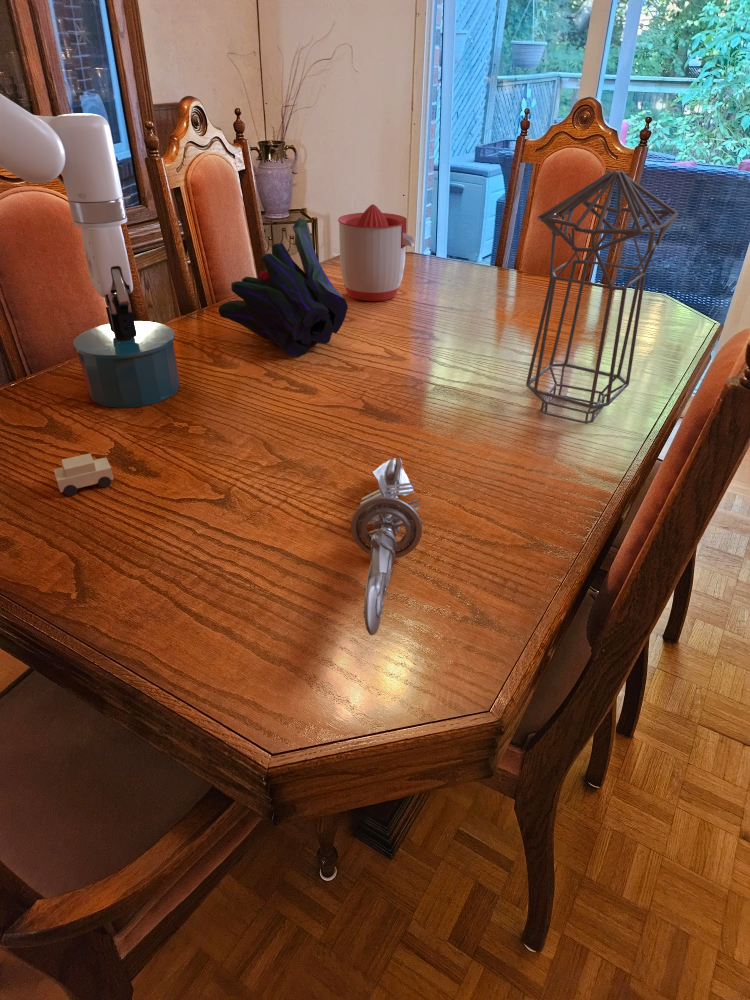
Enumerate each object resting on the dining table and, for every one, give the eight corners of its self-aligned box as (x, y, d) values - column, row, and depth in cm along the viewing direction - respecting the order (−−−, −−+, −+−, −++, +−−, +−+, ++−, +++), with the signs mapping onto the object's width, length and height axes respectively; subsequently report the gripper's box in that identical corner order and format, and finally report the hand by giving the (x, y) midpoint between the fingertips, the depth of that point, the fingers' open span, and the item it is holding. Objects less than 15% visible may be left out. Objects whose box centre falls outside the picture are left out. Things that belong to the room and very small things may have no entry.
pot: (85, 412, 105) (72, 361, 100) (93, 376, 117) (82, 329, 112) (180, 402, 108) (172, 353, 103) (179, 368, 120) (171, 322, 115)
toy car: (62, 498, 85) (54, 473, 83) (58, 485, 87) (50, 460, 85) (115, 485, 87) (109, 460, 85) (110, 473, 90) (104, 448, 88)
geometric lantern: (634, 406, 109) (693, 169, 89) (602, 444, 98) (661, 184, 78) (543, 383, 116) (579, 159, 96) (504, 416, 105) (536, 172, 86)
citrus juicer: (407, 307, 150) (411, 213, 139) (332, 302, 152) (330, 209, 141) (416, 288, 163) (420, 199, 152) (347, 283, 165) (345, 196, 154)
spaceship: (311, 607, 57) (397, 584, 55) (357, 446, 88) (414, 428, 86) (346, 674, 60) (428, 655, 58) (379, 497, 91) (433, 480, 89)
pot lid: (69, 366, 100) (58, 323, 96) (80, 331, 113) (70, 292, 109) (176, 357, 103) (168, 315, 100) (175, 324, 116) (168, 286, 112)
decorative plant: (280, 404, 129) (216, 322, 144) (389, 334, 133) (315, 261, 148) (242, 328, 112) (173, 244, 127) (368, 250, 115) (287, 177, 130)
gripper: (62, 204, 101) (90, 322, 111) (81, 225, 89) (110, 354, 100) (113, 200, 104) (135, 315, 115) (137, 219, 93) (160, 346, 103)
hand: (123, 332), depth 107 cm, fingers closed on pot lid, 3 cm apart
